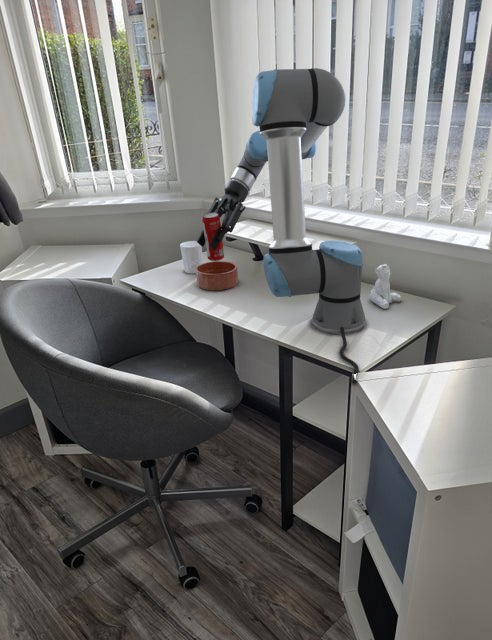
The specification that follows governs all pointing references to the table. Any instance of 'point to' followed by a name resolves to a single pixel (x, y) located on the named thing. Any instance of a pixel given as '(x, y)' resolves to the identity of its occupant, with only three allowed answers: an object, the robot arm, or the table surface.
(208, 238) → the beverage can
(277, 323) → the table surface
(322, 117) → the robot arm
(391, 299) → the sitting furry creature
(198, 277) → the bowl
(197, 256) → the white cup
